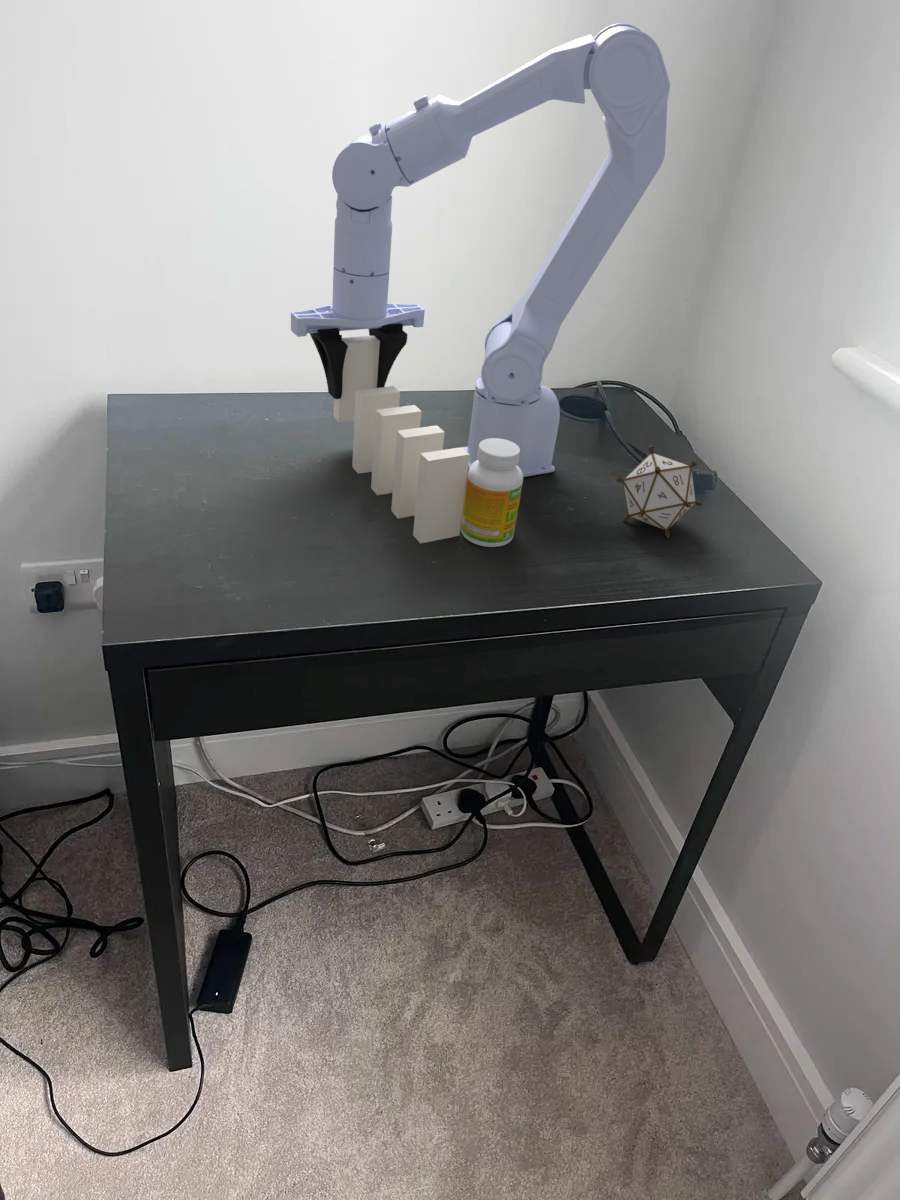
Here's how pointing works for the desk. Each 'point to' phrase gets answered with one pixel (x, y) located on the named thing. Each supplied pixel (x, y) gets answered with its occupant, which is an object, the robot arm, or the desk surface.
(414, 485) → the domino
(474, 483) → the supplement bottle
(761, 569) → the desk surface
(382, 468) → the domino
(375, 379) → the domino
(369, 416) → the domino
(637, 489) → the game die
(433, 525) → the domino
